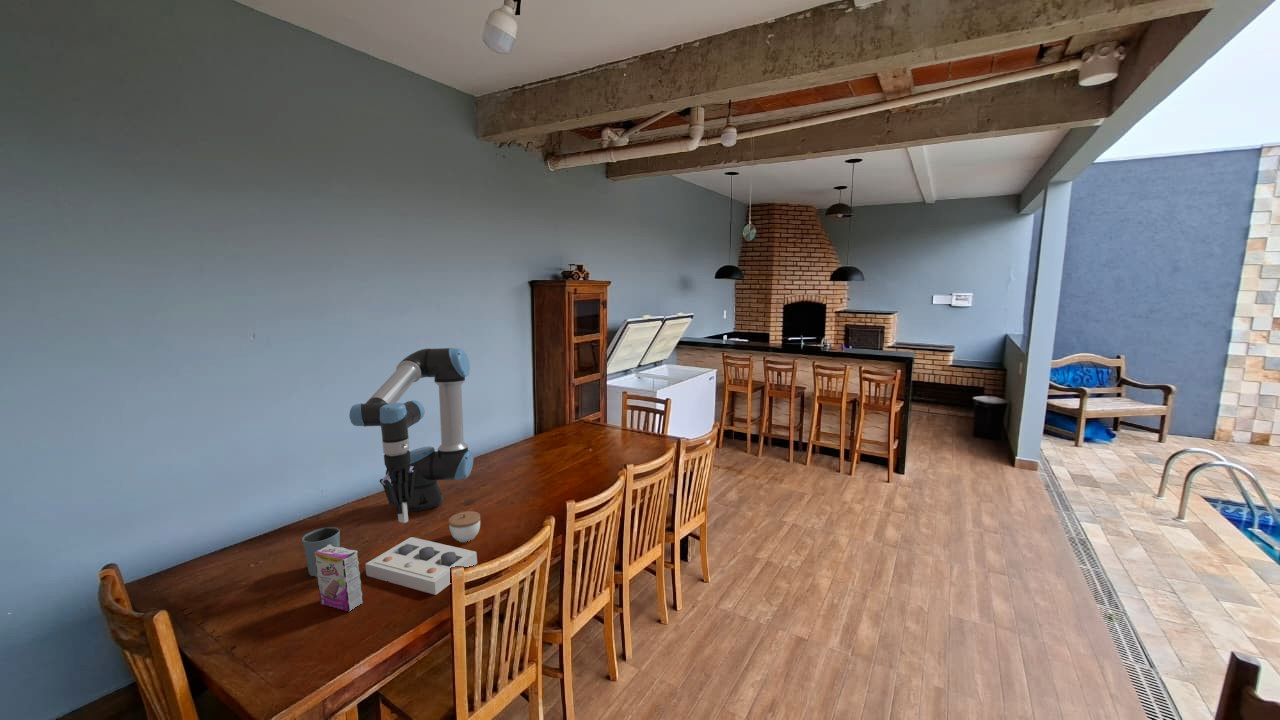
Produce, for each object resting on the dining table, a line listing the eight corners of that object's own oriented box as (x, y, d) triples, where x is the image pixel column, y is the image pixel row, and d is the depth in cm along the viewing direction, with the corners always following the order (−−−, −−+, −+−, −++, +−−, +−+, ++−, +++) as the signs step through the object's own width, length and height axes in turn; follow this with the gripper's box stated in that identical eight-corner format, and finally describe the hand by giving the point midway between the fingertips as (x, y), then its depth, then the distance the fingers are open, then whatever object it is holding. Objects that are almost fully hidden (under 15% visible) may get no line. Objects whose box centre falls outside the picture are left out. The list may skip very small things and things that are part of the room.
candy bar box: (319, 606, 142) (312, 552, 140) (335, 595, 147) (329, 543, 144) (349, 613, 139) (343, 558, 136) (364, 603, 143) (358, 549, 141)
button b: (427, 554, 164) (426, 545, 164) (437, 556, 163) (436, 548, 162) (416, 561, 160) (415, 552, 160) (427, 563, 158) (426, 554, 158)
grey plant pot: (304, 581, 154) (299, 545, 152) (308, 565, 163) (304, 531, 161) (342, 572, 159) (338, 537, 157) (344, 557, 168) (340, 523, 166)
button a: (406, 552, 168) (405, 543, 167) (416, 554, 166) (415, 546, 166) (395, 558, 164) (395, 550, 163) (406, 561, 162) (405, 552, 162)
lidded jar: (471, 547, 173) (469, 521, 172) (443, 544, 175) (441, 519, 174) (487, 532, 184) (485, 508, 182) (460, 529, 186) (458, 505, 184)
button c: (448, 559, 161) (447, 550, 160) (459, 562, 159) (458, 553, 159) (438, 566, 157) (437, 557, 156) (449, 569, 155) (448, 560, 155)
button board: (412, 547, 173) (410, 535, 173) (477, 563, 163) (476, 550, 162) (366, 575, 157) (365, 562, 156) (435, 595, 146) (434, 580, 146)
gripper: (388, 460, 152) (395, 532, 156) (421, 447, 164) (427, 514, 168) (370, 457, 155) (378, 528, 159) (404, 444, 167) (410, 511, 171)
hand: (403, 521), depth 163 cm, fingers closed
